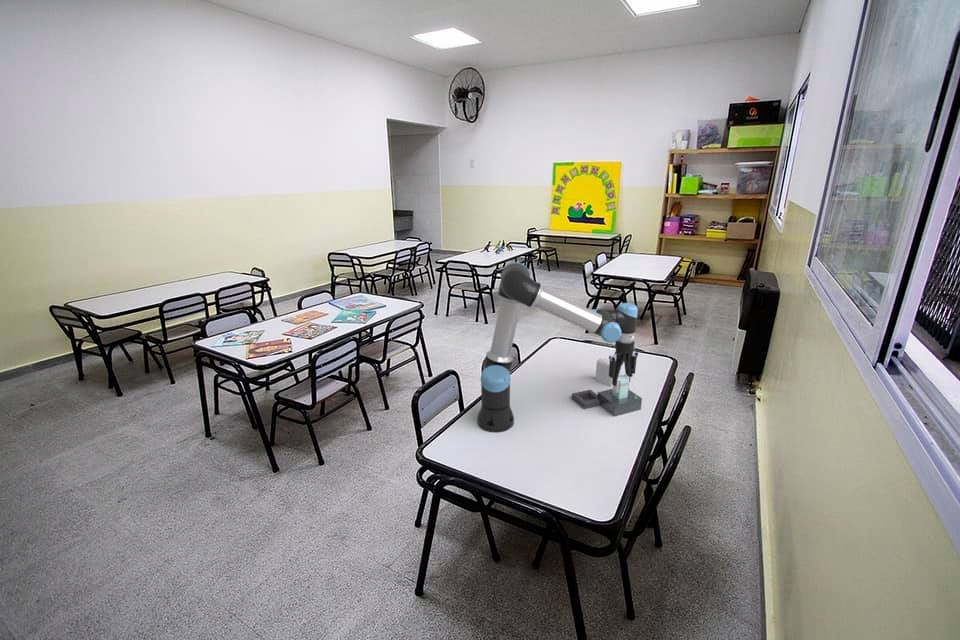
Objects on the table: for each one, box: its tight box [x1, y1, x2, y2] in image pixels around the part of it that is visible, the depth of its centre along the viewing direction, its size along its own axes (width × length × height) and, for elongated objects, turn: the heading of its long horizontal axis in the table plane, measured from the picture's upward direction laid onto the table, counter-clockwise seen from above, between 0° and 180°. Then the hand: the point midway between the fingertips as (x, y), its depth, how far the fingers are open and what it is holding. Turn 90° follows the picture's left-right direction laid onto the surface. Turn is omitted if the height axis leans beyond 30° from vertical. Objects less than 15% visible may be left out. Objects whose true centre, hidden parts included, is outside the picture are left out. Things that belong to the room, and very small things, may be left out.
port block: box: [597, 388, 643, 418], centre depth 190 cm, size 14×12×6 cm
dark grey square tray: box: [571, 389, 601, 410], centre depth 195 cm, size 10×10×3 cm
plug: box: [612, 374, 630, 400], centre depth 188 cm, size 5×5×9 cm
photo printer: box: [595, 357, 613, 388], centre depth 211 cm, size 10×4×12 cm, turn 39°
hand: (620, 390), depth 189 cm, fingers closed on plug, 5 cm apart
